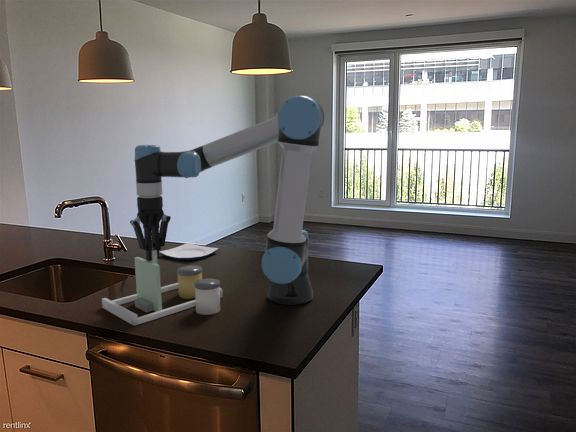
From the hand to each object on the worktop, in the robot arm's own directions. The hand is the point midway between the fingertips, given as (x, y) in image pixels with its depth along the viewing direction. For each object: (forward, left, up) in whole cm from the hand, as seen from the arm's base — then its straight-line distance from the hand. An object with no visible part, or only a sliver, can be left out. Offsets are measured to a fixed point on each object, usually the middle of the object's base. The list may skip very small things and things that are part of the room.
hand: (153, 269), depth 151 cm
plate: (+43, -42, -12) cm, 61 cm away
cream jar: (-16, -9, -12) cm, 22 cm away
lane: (0, -3, -12) cm, 12 cm away
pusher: (0, +3, -12) cm, 12 cm away
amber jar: (0, -13, -12) cm, 18 cm away
